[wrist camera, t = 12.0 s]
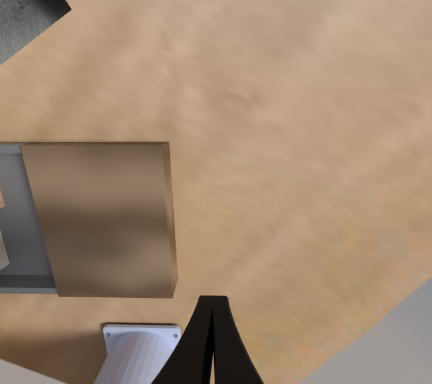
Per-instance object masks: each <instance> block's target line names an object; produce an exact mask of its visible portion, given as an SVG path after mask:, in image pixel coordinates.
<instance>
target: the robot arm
mask: <svg viewBox="0 0 432 384" xmlns="http://www.w3.org/2000/svg"><path fill="white" fill-rule="evenodd" d="M103 334H104V339H105V344H106V349H107V357H106V359H105V361H104V363H103V366H102V368H101V370H100V372H99V374H98V376H97V378H96V380H95V382H94V384H210V377H211V368H212V359H213V353H214V374H215V384H264V383H263V381H262V379H261V378H260V376H259V374H258V372H257V370H256V369H255V367H254V365H253V363H252V361H251V359H250V357H249V355H248V353H247V351H246V349H245V347H244V344H243V342H242V340H241V338H240V335H239V333H238V330H237V328H236V325H235V322H234V319H233V316H232V313H231V310H230V306H229V301H228V297H227V296H203V295H201V296H200V297H199V299H198V303H197V305H196V308H195V310H194V313H193V315H192V317H191V319H190V321H189V323H188V325H187V327H186V329H185V331H184V333H183V335H182V337H181V331H180V327H179V326H175V325H123V324H107V325H105V326H104V328H103ZM176 334H177V335H176Z"/></svg>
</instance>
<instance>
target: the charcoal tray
mask: <svg viewBox="0 0 432 384" xmlns="http://www.w3.org/2000/svg"><path fill="white" fill-rule="evenodd" d="M36 143H43V142H0V191H1V194H2V197H3V200H4V204H5V207H2V208H0V231H1V234H2V238H3V242H4V245H5V249H6V252H7V256H8V260H9V263H10V264H8V265H7V266H5V267H4V268H2V269H1V270H0V293H29V294H58V293H57V289H56V285H55V281H54V277H53V273H52V269H51V265H50V261H49V257H48V254H47V250H46V246H45V242H44V238H43V234H42V230H41V226H40V222H39V218H38V215H37V211H36V207H35V203H34V199H33V195H32V191H31V187H30V183H29V179H28V175H27V172H26V168H25V164H24V160H23V156H22V152H21V148H20V145H27V144H36Z"/></svg>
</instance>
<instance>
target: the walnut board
mask: <svg viewBox="0 0 432 384" xmlns="http://www.w3.org/2000/svg"><path fill="white" fill-rule="evenodd" d="M20 148H21V152H22V156H23V160H24V164H25V168H26V172H27V175H28V179H29V183H30V187H31V191H32V195H33V199H34V203H35V207H36V211H37V215H38V218H39V222H40V226H41V230H42V234H43V238H44V242H45V246H46V250H47V254H48V257H49V261H50V265H51V269H52V273H53V277H54V281H55V285H56V289H57V293H58V296H59V297H122V298H173V294H174V291H175V287H176V284H177V280H178V275H177V260H176V244H175V228H174V213H173V197H172V181H171V166H170V150H169V142H44V143H36V144H27V145H20Z"/></svg>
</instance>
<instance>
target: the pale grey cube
mask: <svg viewBox="0 0 432 384" xmlns="http://www.w3.org/2000/svg"><path fill="white" fill-rule="evenodd" d="M8 264H10V263H9V260H8V256H7V252H6V249H5V245H4V242H3V238H2V234H1V231H0V270H1V269H2V268H4V267H5V266H7V265H8Z"/></svg>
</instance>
